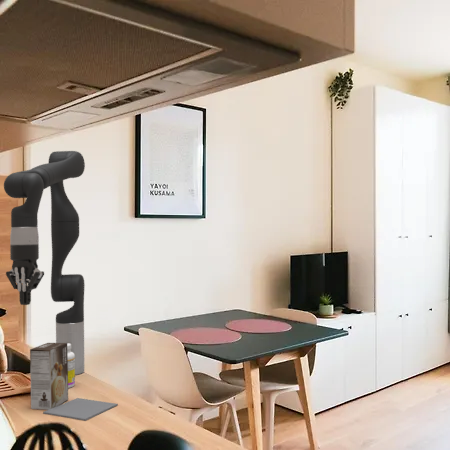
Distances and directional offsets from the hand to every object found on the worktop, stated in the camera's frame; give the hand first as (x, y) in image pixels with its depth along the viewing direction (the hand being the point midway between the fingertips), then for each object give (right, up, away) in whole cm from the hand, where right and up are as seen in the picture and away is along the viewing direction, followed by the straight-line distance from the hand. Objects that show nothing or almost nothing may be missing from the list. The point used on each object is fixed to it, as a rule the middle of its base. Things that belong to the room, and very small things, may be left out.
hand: (25, 304), depth 149 cm
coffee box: (+9, -27, -5) cm, 29 cm away
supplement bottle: (+7, -27, +13) cm, 31 cm away
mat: (+18, -26, -9) cm, 34 cm away
